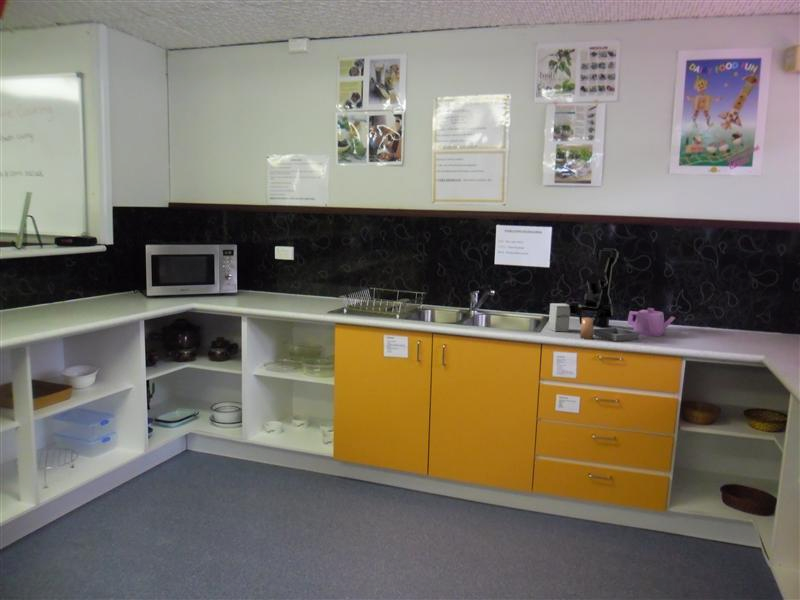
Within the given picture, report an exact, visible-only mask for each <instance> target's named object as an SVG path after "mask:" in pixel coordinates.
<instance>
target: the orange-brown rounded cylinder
mask: <svg viewBox="0 0 800 600" xmlns="http://www.w3.org/2000/svg"><path fill="white" fill-rule="evenodd" d="M594 319H595V318H593V317H583V318H582V321H581V324H580V337H581V338H580V339H582V338H584V339H583V340H593V338H594V336H593V334H594V329H595V328H594V327H595V326H593V322H594Z"/></svg>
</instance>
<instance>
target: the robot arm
mask: <svg viewBox="0 0 800 600" xmlns="http://www.w3.org/2000/svg"><path fill="white" fill-rule="evenodd" d="M619 254H620V252H619V251H618V250H617V249H616V248H606V247H603V248H602V249H599V255H598V257H599V260H598V263H597V267H596V270H594V271H593V272H592V274H589V275H588V276H587V277H586V283H587V289H588V290H589V291H588V292H585V294H584V298H583V300H584V305H582V304H580V302H576V301H571V302H570V303H569V304H568V305H569V307H570V314H574V315H577V316H578V317H579V324H580V325H581V321H582V318H584V312H588V313H589V312H590V313H593V314H595V316H594V318H593V319H594V322H593V326H594V327H598V328H612V327H611V326H612V325H610V318H612V317H613V316H614V307H613V304H612V300H611V299H612V298H610V289H611V288H610V287H611V281H612V272H613V267H614V265H616V263H617V260H618V258H619ZM583 311H584V312H583Z"/></svg>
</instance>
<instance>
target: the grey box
mask: <svg viewBox="0 0 800 600" xmlns="http://www.w3.org/2000/svg"><path fill="white" fill-rule="evenodd" d="M569 305H570V304H567V303H553V302H552V303H549V314H548V315H549V316H548V317H549V319H548V329H549V330H551V331H553V332H569V329H570V316H571V312H570V307H569Z"/></svg>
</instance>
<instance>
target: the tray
mask: <svg viewBox="0 0 800 600" xmlns="http://www.w3.org/2000/svg"><path fill="white" fill-rule="evenodd" d="M593 335H595V336H594V337H597V336H598V337H597V338H600V337H601V339H604V338H605V339H604V340H607V339H608V340H607V341H611V340H612V341H611V342H615V341H616V342H615V343H618V342H617V341H620V342H627V341H628V342H629V341H638V340H639V339H640V335H639V333H637V332H634V330H633V331H632V330H629V329H625V328H622V327H621V328H619V327H602V328H594V330H593Z"/></svg>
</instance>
